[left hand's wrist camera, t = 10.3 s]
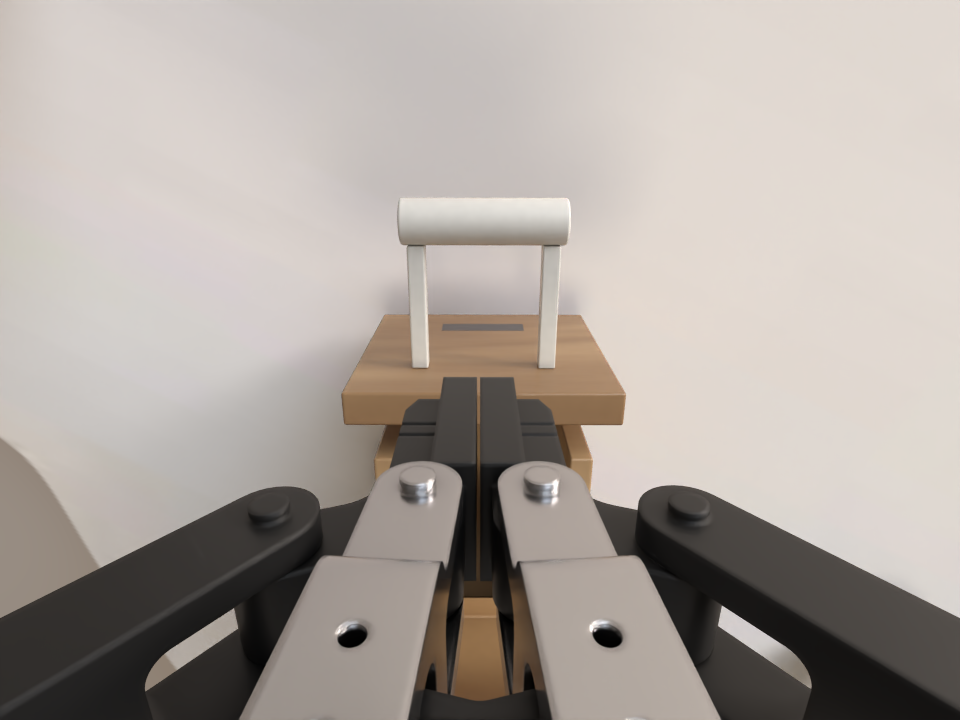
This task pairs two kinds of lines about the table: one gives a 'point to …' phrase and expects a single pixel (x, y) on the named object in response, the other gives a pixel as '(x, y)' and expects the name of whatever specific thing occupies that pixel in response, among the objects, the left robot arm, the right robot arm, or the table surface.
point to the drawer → (485, 337)
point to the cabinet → (479, 653)
